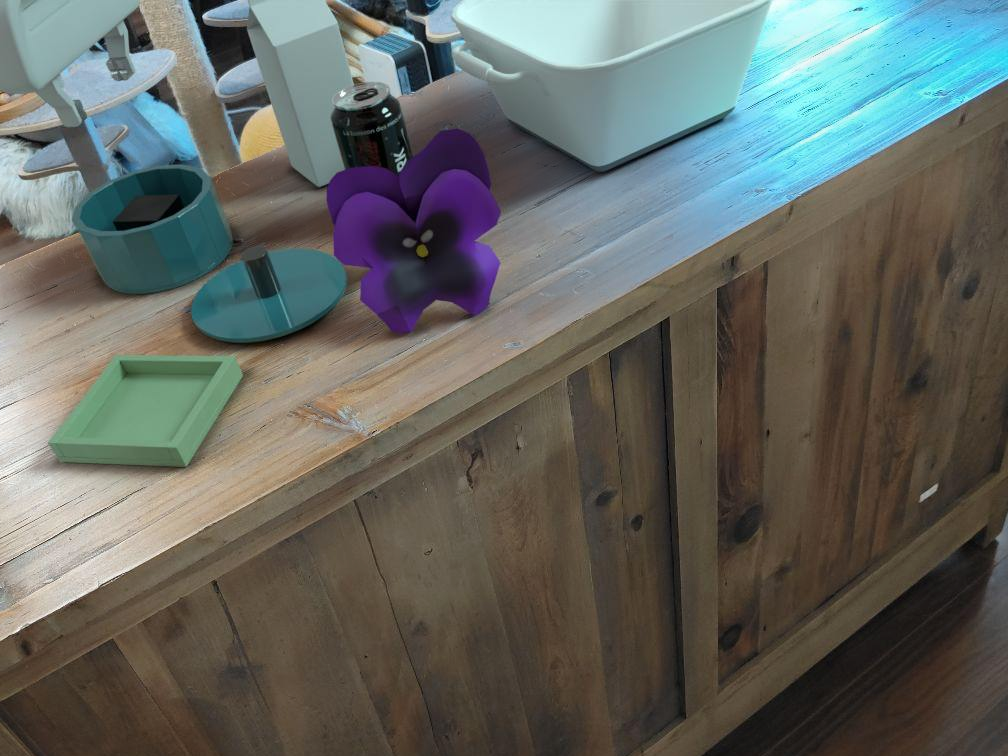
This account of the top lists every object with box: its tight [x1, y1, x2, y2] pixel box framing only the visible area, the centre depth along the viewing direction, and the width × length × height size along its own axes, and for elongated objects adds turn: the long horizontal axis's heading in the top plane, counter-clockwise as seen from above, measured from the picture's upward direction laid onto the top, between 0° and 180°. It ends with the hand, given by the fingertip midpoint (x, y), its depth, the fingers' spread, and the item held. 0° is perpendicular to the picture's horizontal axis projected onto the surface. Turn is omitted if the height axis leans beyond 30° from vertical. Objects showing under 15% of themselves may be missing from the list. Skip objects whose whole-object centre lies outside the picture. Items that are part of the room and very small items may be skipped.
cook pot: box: [71, 164, 234, 295], centre depth 101 cm, size 14×14×6 cm
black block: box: [113, 195, 184, 231], centre depth 101 cm, size 5×5×5 cm
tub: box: [450, 0, 773, 173], centre depth 106 cm, size 34×27×13 cm
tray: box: [47, 354, 244, 468], centre depth 84 cm, size 12×12×2 cm
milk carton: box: [246, 0, 355, 188], centre depth 106 cm, size 7×7×19 cm
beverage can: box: [331, 81, 414, 176], centre depth 99 cm, size 7×7×12 cm
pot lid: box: [190, 245, 348, 344], centre depth 93 cm, size 15×15×5 cm
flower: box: [325, 127, 502, 335], centre depth 90 cm, size 15×15×14 cm
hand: (101, 99), depth 93 cm, fingers open, 8 cm apart
